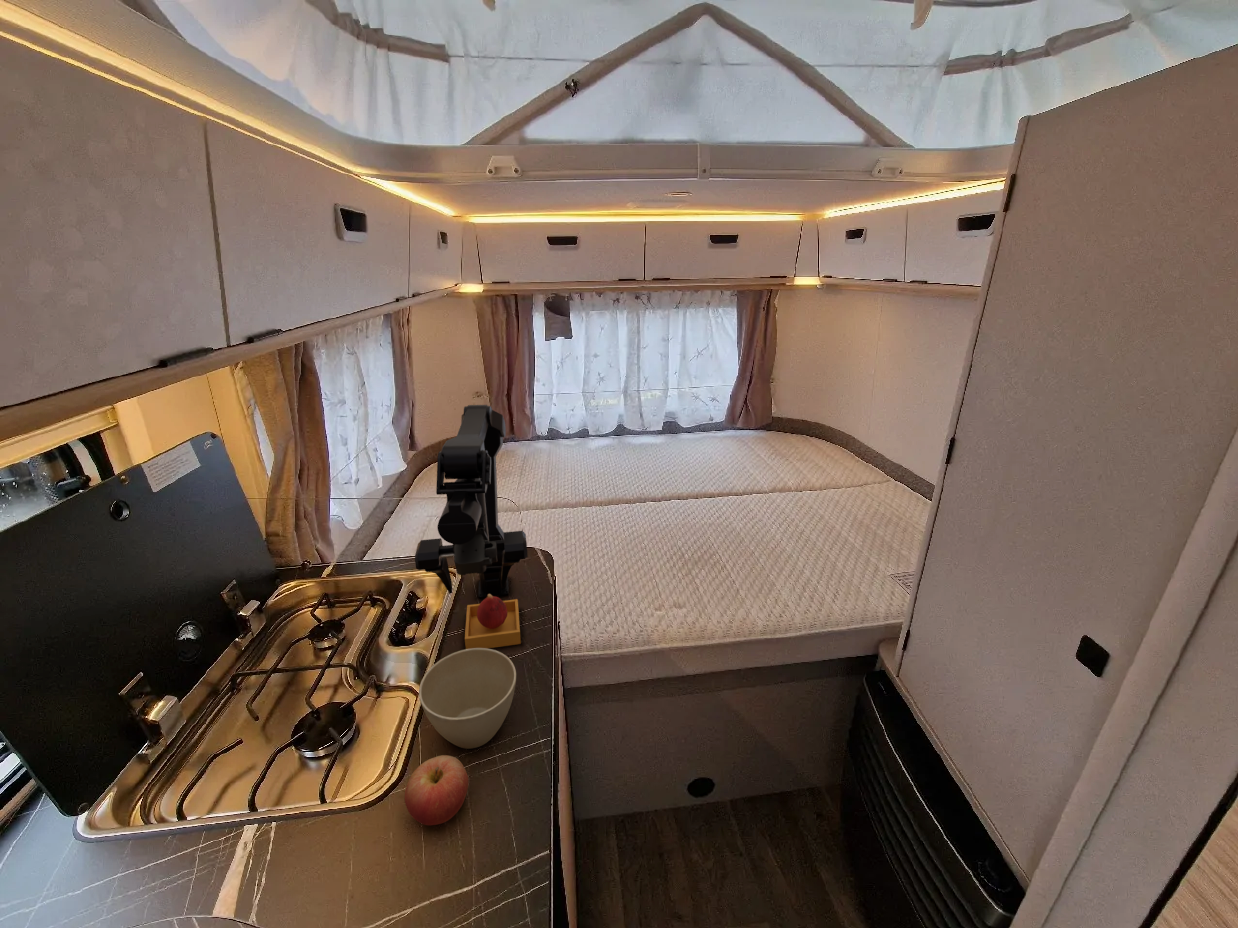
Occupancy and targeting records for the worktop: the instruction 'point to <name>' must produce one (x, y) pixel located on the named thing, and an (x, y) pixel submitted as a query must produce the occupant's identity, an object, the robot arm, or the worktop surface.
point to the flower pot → (468, 695)
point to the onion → (492, 612)
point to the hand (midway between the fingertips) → (477, 589)
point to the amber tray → (492, 637)
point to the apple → (436, 790)
